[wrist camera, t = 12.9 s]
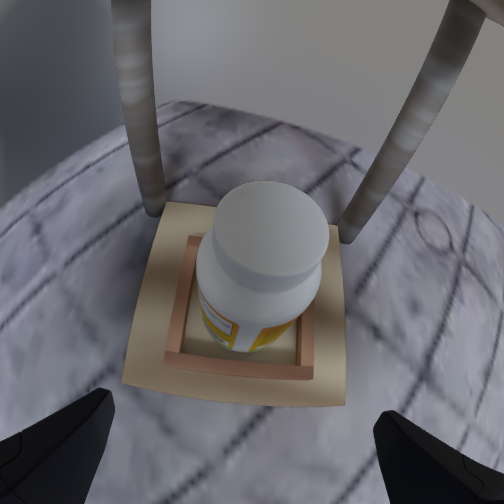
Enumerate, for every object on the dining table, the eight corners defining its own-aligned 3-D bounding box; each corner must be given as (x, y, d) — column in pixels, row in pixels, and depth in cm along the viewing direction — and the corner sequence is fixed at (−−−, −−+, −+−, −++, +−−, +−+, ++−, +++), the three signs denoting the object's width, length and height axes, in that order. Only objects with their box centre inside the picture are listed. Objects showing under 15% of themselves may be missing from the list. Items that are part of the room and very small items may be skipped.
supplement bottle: (288, 282, 19) (343, 182, 11) (281, 359, 16) (352, 309, 8) (210, 268, 19) (212, 155, 10) (194, 345, 16) (171, 279, 8)
